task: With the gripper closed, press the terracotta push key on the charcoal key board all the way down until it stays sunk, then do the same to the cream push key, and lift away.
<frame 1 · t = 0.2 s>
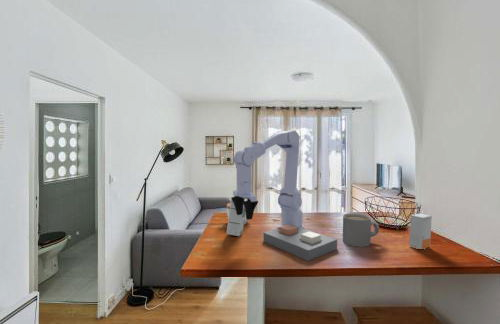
hand: (244, 216, 97), 10 cm above the breakfast bar, tool pointing down, fingers open, 7 cm apart
terracotta key: (288, 232, 99), point 3 cm above the breakfast bar, slide at 0.0 cm
syrup box: (234, 234, 106), on the breakfast bar
key board: (298, 244, 95), on the breakfast bar
skincare box: (419, 248, 92), on the breakfast bar
cream key: (310, 240, 90), point 4 cm above the breakfast bar, slide at 0.0 cm
lidded bowl: (239, 223, 123), on the breakfast bar
coffee mug: (360, 242, 98), on the breakfast bar
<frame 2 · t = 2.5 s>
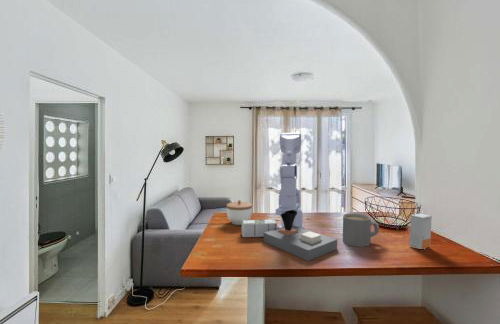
hand: (288, 229, 99), 4 cm above the breakfast bar, tool pointing down, fingers closed, pressing on terracotta key
terracotta key: (288, 234, 99), point 3 cm above the breakfast bar, slide at 1.0 cm, touching gripper
syrup box: (241, 228, 105), point 3 cm above the breakfast bar
everything else where it was.
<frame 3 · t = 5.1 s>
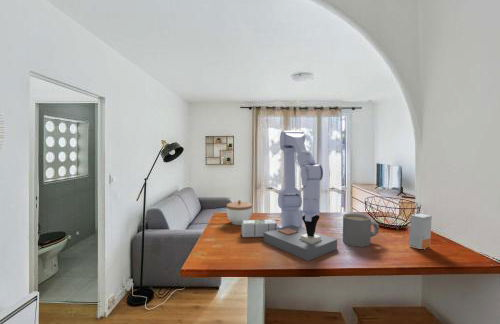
hand: (310, 236, 90), 5 cm above the breakfast bar, tool pointing down, fingers closed, pressing on cream key
terracotta key: (288, 235, 99), point 2 cm above the breakfast bar, slide at 1.5 cm
cream key: (310, 241, 90), point 3 cm above the breakfast bar, slide at 0.5 cm, touching gripper
everything else where it was.
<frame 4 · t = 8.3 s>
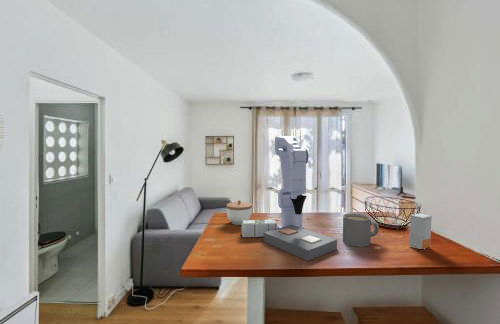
hand: (298, 214, 100), 10 cm above the breakfast bar, tool pointing down, fingers closed
cream key: (310, 244, 91), point 2 cm above the breakfast bar, slide at 1.5 cm
everything else where it was.
at the end: terracotta key slide at 1.5 cm; cream key slide at 1.5 cm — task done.
